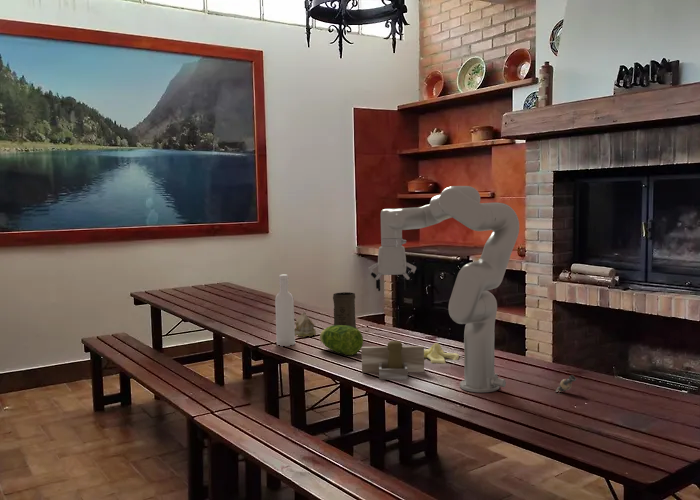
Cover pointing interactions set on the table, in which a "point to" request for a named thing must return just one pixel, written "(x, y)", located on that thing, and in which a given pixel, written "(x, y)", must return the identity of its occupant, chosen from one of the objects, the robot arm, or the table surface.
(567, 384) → the vase
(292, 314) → the bottle
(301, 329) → the ceramic model
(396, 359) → the olive rounded piece
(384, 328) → the table surface
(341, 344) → the lettuce
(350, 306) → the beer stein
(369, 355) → the wall board holder
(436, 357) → the cloth
